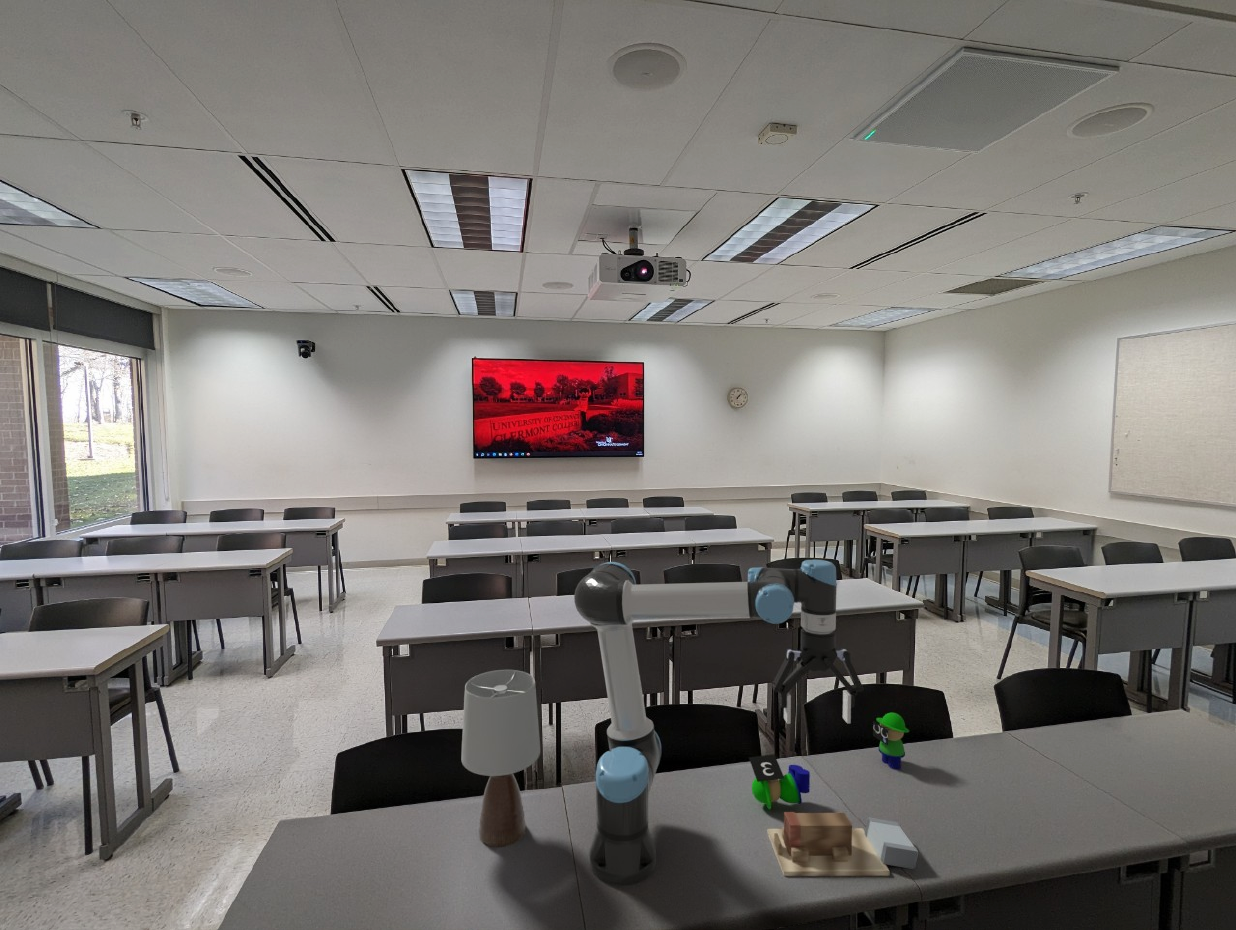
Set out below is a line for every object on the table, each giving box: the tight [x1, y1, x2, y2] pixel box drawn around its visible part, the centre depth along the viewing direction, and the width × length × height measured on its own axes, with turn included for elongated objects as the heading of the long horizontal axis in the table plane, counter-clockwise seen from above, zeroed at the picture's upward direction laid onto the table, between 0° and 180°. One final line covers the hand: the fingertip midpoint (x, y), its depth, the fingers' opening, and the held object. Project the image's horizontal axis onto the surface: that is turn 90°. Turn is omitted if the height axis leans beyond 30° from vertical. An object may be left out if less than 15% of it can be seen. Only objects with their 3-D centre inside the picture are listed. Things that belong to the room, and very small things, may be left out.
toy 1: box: [748, 753, 811, 810], centre depth 154 cm, size 11×9×15 cm
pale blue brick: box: [864, 816, 919, 870], centre depth 136 cm, size 4×10×7 cm
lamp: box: [460, 669, 541, 848], centre depth 143 cm, size 19×19×37 cm
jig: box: [767, 825, 890, 877], centre depth 136 cm, size 23×14×4 cm, turn 90°
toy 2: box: [872, 712, 910, 770], centre depth 173 cm, size 9×9×15 cm
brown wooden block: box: [783, 811, 853, 856], centre depth 136 cm, size 14×5×7 cm, turn 90°
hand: (816, 721), depth 136 cm, fingers open, 13 cm apart
